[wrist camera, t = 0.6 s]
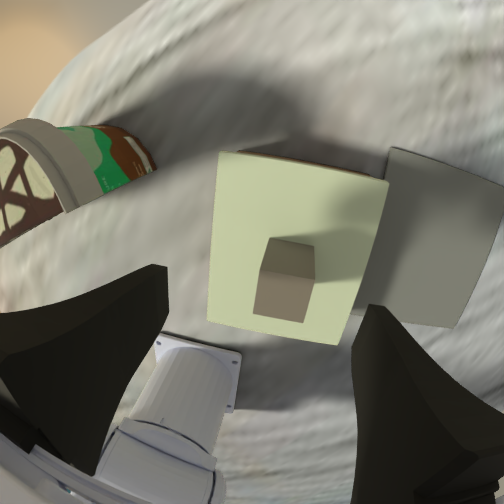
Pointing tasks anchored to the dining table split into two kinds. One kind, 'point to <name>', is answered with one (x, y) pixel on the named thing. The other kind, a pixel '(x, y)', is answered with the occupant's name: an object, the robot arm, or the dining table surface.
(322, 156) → the dining table surface
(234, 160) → the lid
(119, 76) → the dining table surface
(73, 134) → the food container
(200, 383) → the robot arm
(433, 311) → the mat
